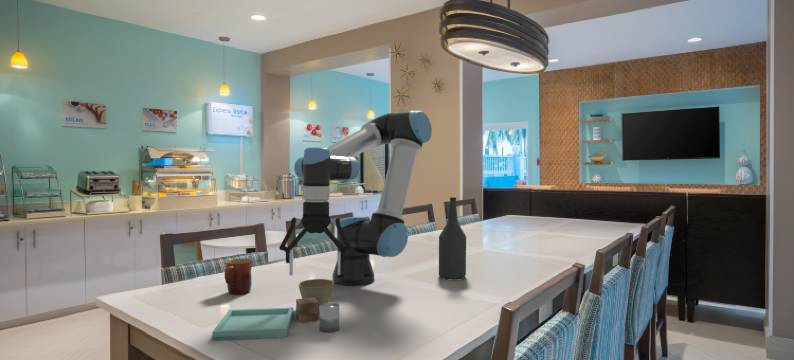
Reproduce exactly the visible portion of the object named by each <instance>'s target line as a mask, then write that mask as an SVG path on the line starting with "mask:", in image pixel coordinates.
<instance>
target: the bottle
mask: <svg viewBox="0 0 794 360" xmlns="http://www.w3.org/2000/svg"><path fill="white" fill-rule="evenodd" d="M438 276H439V278H441V277H442V278H441V279H443V278H445V279H444V280H448V279H461V280H463V279H462V278H464V279H465V277H466V276H467V235H466V234H465V232H464V230H463V228H462V227H461V225H460V223H459V221H458V210H457V197H453V196H452V197H449V209H448V218H447V223H446V224H445V226H444V228H443V229H442V231H441V233H440V234H439V236H438Z"/></svg>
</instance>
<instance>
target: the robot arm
mask: <svg viewBox="0 0 794 360" xmlns="http://www.w3.org/2000/svg"><path fill="white" fill-rule="evenodd" d="M430 120H431V119H430V118H429V116H428V115H427V114H426V113H425V112H424V111H422V110H414V109H413V110H410V111H399V112H388V113H385V114H382V115H380V116H378V117H376V118H374V119H371V120H370V121H368V122H367V123H364V124H363V125H362V126H361V127H360V129H359V130H357V131H355V132H354V133H352V134H350V135H348V136H346V137H345V138H343V139H340V140H339V141H337V142H335V143H333V144H331V145H329V146H328V147H311V146H310V147H307V148H305V149H304V150H303V151H304V152H303V156H302V157H299V158H297V160H296V161H295V163H294V168H293V170H294V173H295V175H296V177H297V178H298V179H299V180H303V181H302V182H303V188H302V199H303V202H302V217H301V218H297V217H295V216H293V217H292V218H291V222H290V226H289V228H288V230H287V232H286V233H285V236H284V238H283V240H282V242H281V243H280V245H279V247H278V250H279V251H282V252H284V253H285V264H289V271H288V272H289V277H290V276H291V277H292V276H293V275H294V251H293V250H292V249H294V247H295V246H296V245H297V244H298V243H299V242H300V240H301V239H302V238H303V237H304V236H305V234H307V232H308V234H323V233H325V234H326V236H327V237H328V238H329V239H330V240H331V241H332V243H333V244H334V245H335V246H336V249H337V253H336V254H337V259H336V262H335V265H334V268H333V271H332V272H333V273H332V278H331V279H332V280H331V281H333V282H334V283H335V284H338V285H343V286H360V285H361V286H363V285H367V284H371V283H373V282H374V281H375V272H374V269H373V266H372V263H371V260H370V258H371V257H370V255H373V256H380V257H382V258H386V257H387V258H388V257H389V258H394V257H397V256H399V255H400V254H401V253H402V252H404V250H405V248H406V247H407V245H408V244H407V243H408V240H409V233H408V232H409V231H408V228H407V226H406V225H405V219H404V218H403V216H402V215H403V210H404V207H405V202H406V199H407V193H408V189H409V185H410V181H411V176H412V173H413V167H414V163H415V159H416V156H417V155H416V154H417V153H419V152H421V151H422V149H423V148H422V147H423V144H424V143H425V144H426V143H428V142H429V141H430V140H431V139H432V133H433V129H432V123H431V121H430ZM388 144H389V145H391V147H392V151H391V155H390V160H389V163H388V167H387V172H386V176H385V179H384V182H383V188H382V192H381V196H380V199H379V204H378V207H377V210H376V211H373V212H372V214H371V218H370V216H369V215H363V216H352V217H345V218H340V217H334V218H331V217H330V202H329V200H330V190H331V189H330V184H331V183H330V182H331V181H334V182H335V181H337V182H340V181H341V182H342V181H343V182H344V181H345V182H348V181H354V180H356V179H357V178H358V177H359V175H360V170H361V166H360V162H359V161H358V159H356V158H355V157H357V156H358V155H361V154H362V153H363V152H366V151H367V150H368V149H370V148H371V149H374V148H375V149H376V148H378V147H380V146H381V145H388ZM331 223H332V225H333V226H335V227H336V236H335V235H334V234H333V232H331V229H329V226H330V224H331ZM299 224H301V225H302V226H303V229H302V230H301V231H300V232H299V234H298V235H297V236H295V238H294V239H293V240H292V241H291V243H289V245H287V243H288V242H289V240H290V238H291V235H292V234H293V232H294V230H295V229H296V227H297V226H298V225H299Z"/></svg>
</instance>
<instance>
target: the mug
mask: <svg viewBox="0 0 794 360" xmlns="http://www.w3.org/2000/svg"><path fill="white" fill-rule="evenodd" d="M253 264H254V259H252V258H246V257H245V258H232V259H228V260H225V266H226V268H225V270H224V280H225V281H224V282H225V284H227V287H226V288H227V291H228V293H229V294H231V295H235V296H237V295H239V294H240V295H246V294H248V293H249V292H250V291H251V290H252V286H253V285H252V267H253Z"/></svg>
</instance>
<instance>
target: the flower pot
mask: <svg viewBox="0 0 794 360" xmlns="http://www.w3.org/2000/svg"><path fill="white" fill-rule="evenodd" d="M333 288H334V282H333V281H332V280H331V279H328V278H326V279H325V278H313V279H312V278H311V279H306V280H302V281H300V282H298V289H299V293H300V295H301V299H303V298H312V297H315V299H316V300H317V301H318V311H319V306H320V305H321V304H324V303H329V301H330V298H331V296H332V293H333V291H334V290H333Z"/></svg>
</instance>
